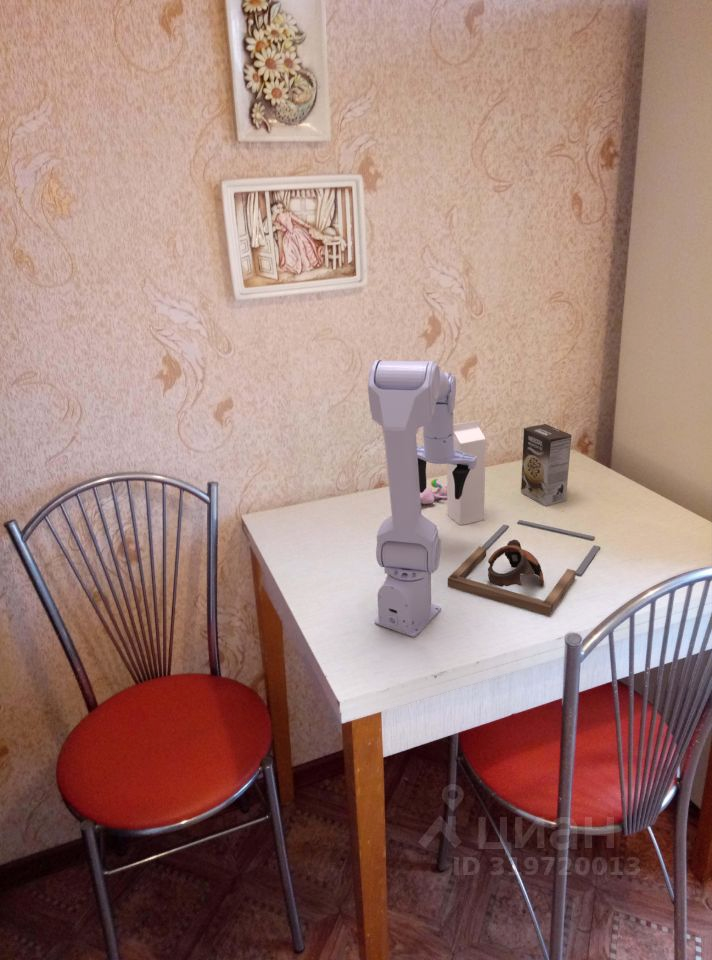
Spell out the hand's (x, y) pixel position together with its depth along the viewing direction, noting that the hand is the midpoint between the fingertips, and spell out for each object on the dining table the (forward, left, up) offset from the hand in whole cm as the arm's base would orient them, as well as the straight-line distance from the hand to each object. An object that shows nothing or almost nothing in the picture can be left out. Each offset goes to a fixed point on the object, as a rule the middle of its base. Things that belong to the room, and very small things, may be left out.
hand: (440, 493), depth 136 cm
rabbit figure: (+15, +11, -11) cm, 22 cm away
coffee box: (+30, -11, -11) cm, 34 cm away
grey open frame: (+8, -19, -11) cm, 23 cm away
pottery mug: (-7, -19, -11) cm, 23 cm away
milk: (+12, 0, -11) cm, 16 cm away
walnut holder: (-8, -19, -11) cm, 23 cm away
